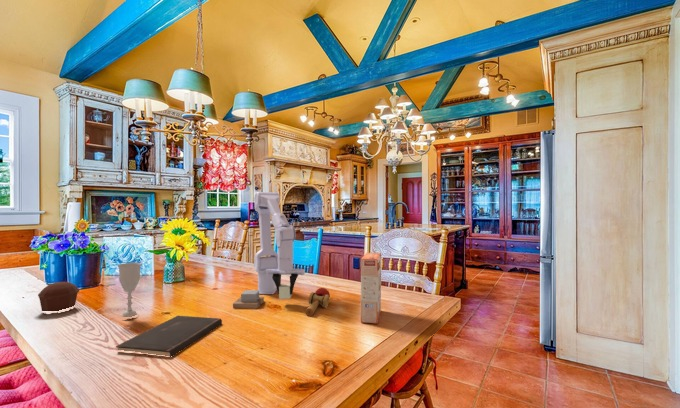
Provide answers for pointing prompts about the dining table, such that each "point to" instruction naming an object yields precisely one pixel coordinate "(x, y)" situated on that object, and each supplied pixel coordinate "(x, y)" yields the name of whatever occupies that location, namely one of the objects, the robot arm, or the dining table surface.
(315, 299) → the kendama
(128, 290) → the chalice
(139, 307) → the dining table surface
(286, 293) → the sage block
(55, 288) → the muffin
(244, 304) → the walnut slab
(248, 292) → the slate cube
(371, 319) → the cracker box
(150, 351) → the hardcover book
